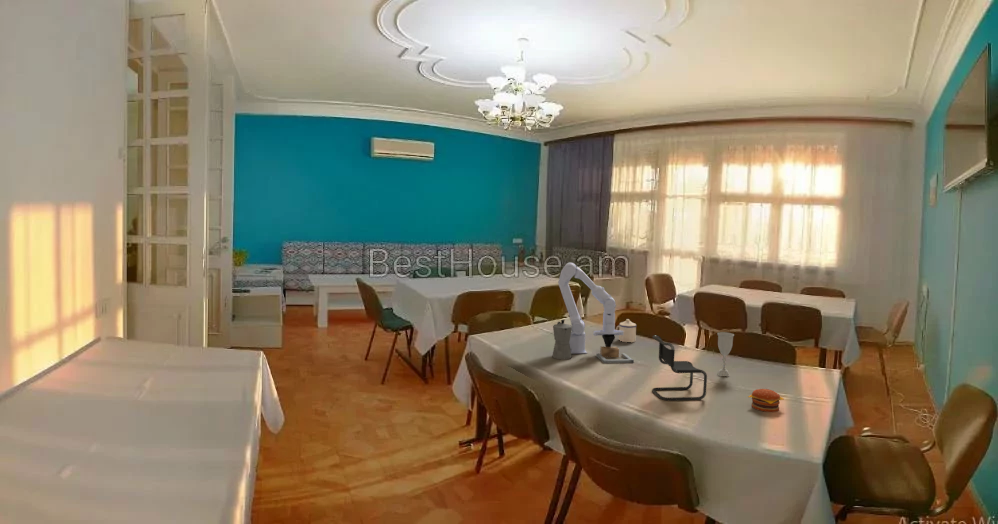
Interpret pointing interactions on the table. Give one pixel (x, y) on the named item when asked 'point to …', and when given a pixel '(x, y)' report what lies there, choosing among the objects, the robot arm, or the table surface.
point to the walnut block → (609, 351)
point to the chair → (677, 370)
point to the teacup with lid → (627, 331)
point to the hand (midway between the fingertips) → (607, 349)
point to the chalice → (724, 349)
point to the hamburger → (765, 400)
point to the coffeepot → (562, 340)
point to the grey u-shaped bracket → (626, 360)
